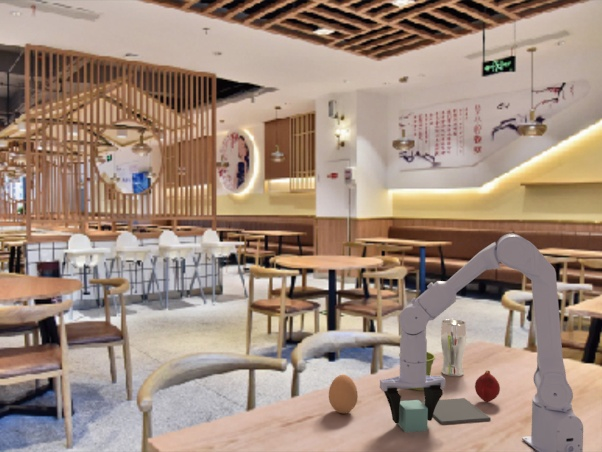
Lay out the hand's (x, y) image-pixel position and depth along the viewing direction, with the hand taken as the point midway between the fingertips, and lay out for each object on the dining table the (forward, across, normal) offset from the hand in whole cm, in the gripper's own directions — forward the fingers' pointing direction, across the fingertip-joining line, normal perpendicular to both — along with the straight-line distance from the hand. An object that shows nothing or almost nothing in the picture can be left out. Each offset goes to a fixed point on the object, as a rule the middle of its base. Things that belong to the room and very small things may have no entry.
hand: (412, 420), depth 115 cm
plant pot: (+2, -11, -23) cm, 26 cm away
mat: (+1, -13, -6) cm, 14 cm away
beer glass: (+2, -26, -32) cm, 41 cm away
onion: (+2, -24, -10) cm, 26 cm away
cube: (+2, 0, 0) cm, 2 cm away
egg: (+2, +13, -10) cm, 16 cm away
